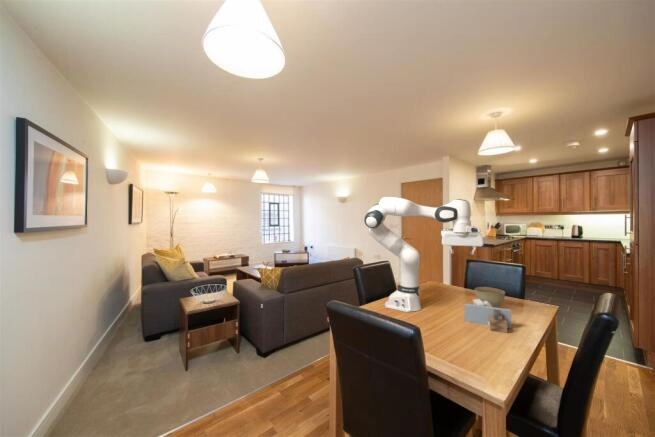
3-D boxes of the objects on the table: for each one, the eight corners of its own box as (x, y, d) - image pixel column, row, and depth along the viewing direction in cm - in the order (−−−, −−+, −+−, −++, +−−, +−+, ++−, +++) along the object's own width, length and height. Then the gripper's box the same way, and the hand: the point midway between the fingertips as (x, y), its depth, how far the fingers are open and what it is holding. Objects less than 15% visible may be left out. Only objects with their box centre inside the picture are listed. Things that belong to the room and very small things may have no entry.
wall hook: (501, 317, 143) (496, 300, 144) (481, 320, 145) (477, 303, 146) (495, 312, 151) (490, 295, 152) (476, 315, 153) (472, 299, 154)
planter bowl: (509, 308, 159) (509, 290, 159) (498, 314, 150) (497, 295, 150) (482, 301, 172) (482, 285, 172) (470, 306, 163) (469, 289, 163)
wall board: (464, 322, 139) (464, 305, 139) (464, 319, 143) (464, 303, 143) (511, 329, 130) (511, 311, 130) (510, 326, 133) (510, 309, 133)
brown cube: (490, 330, 129) (490, 312, 129) (489, 325, 135) (489, 308, 135) (507, 333, 126) (507, 315, 126) (505, 327, 132) (505, 310, 132)
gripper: (440, 228, 142) (440, 253, 142) (483, 229, 132) (484, 256, 132) (441, 228, 147) (441, 252, 147) (482, 228, 138) (483, 254, 138)
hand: (462, 254), depth 140 cm, fingers open, 8 cm apart
